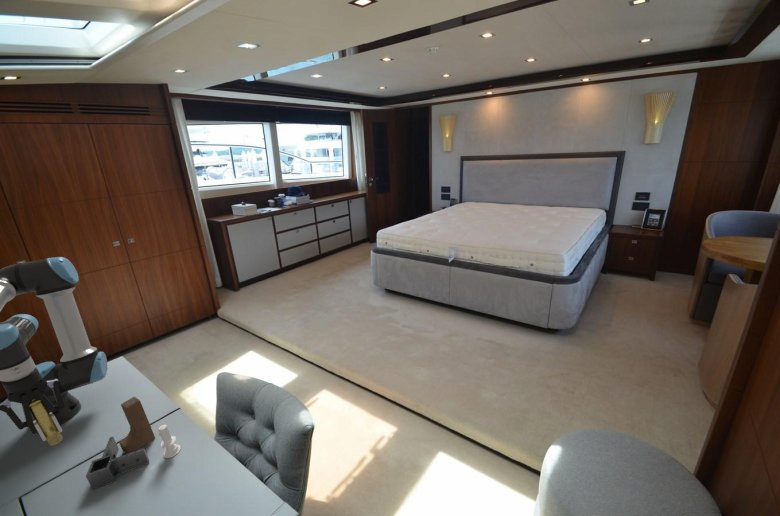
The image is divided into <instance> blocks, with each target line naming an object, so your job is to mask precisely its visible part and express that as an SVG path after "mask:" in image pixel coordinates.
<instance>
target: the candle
mask: <svg viewBox="0 0 780 516" xmlns="http://www.w3.org/2000/svg"><path fill="white" fill-rule="evenodd" d="M158 435H159V437H161V439H162V441H161V442H160V447H161V448H165V449H164V453H163V455H162V456H163V457H164V458H165V459H170V458H173V457H175V456H177V454H179V452H180V451H181V448H182V447H181V445H180V444H176V443H175V442H176V440H177V436H175V435H172V434H171V432H170V429H169V428H168V425H167V424H165V423H164V424H162V425H160V426H159V428H158Z"/></svg>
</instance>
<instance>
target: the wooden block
mask: <svg viewBox="0 0 780 516" xmlns="http://www.w3.org/2000/svg"><path fill="white" fill-rule="evenodd" d="M120 406H121V408H122V411H123V413H124V416H125V418H126V420H127V423H128V424H129V432H128V434H127V435H126V436H125V437H124V438H123V439H121V440H120V441H119V446H120V448H121V450H122V453H124V455H126V454H128V453H131V452H134V451H137V450H140V449H143V448H144V447H145V446H146V445H148V444H149V443H151V442H152V441H153V440H155V439H156V436H155V434H154V431H153V428H152V426H151V423H150V421H149V419H148V416H147V414H146V412H145V409H144V406H143V404H142V402H141V400H140V399H138V398H137V396H132V397H131V398H129V399H127V400H125V401H124V402H122V403H121V404H120Z"/></svg>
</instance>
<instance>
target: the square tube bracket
mask: <svg viewBox="0 0 780 516" xmlns="http://www.w3.org/2000/svg"><path fill="white" fill-rule="evenodd" d="M119 450H120V448H119V446H118V444H117V441H116V440H115V437H114V436H110V437H109V438H108V440H107V444H106V446H105V448H104V450H103V453H102V456H101V457H99V458H96V459H94V460H92V461H91V463H90V465H89V468H88V470H87V473H86V475H85V478H86V480H87V481H88V483H89V485H90V487H91V490H95V489H98V488H101V487H104V486H106V485H108V484H111V483H114V482H116V481H117V477H118V475H121V474H123V472H124V473H125V472H128V470H129V471H131V469H132V470H134V469H137V468H139V466H140V467H142V465H143V466H146V465H148V464H150V462H149V461H150V458H149V456H148V454H147V452H146V449H145V447H142V448H140V449H139V450H137V451H134V452H131V453H128V454H124V455H120V456H118V457H117V455H118V453H119Z"/></svg>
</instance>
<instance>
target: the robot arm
mask: <svg viewBox="0 0 780 516" xmlns="http://www.w3.org/2000/svg"><path fill="white" fill-rule="evenodd" d="M79 281H80V277H79V274H78V271H77V269H76V268H75V266H74V264H73V263H72V262H71V261H70V260H69V259H68V258H66V257H63V256H56V257H55V256H54V257H47V258H44V259H43V258H42V259H38V260H32V261H27V262H21V263H15V264H10V265H8V266H5V267H2V268H1V269H0V312H2V310H3V308H4V307H5V305H6V304H7V303H8V302H10V301H12V300H13V299H14V298H15V297H16V296H19V295H23V294H28V293H34V295H35V297H36V298H39V299H42V300H43V303H44V306H45V308H46V311H47V313H48V316H49V319H50V321H51V325H52V327H53V329H54V332H55V336H56V338H57V341H58V343H59V346H60V348H61V351H62V354H63V355H62V356H61V358H60V360H59V362H60V363H57V364H56V363H55V362H53V361H45V362H41V363H39V364H35V363H36V362H34V360H33V358H32V356H31V354H30V352H29V351H28V348H27V346H26V344H27V343H28V342H29V341H30V340H31V339H32V337H33V336H34V335H35V334H36V332H37V330H38V329H39V321H38V320H37V318H36V317H34V316H32V315H30V314H28V313H26V314H25V313H19V314H15V315H12V316H11V317H10V318H8V319H6V320H4V321H1V322H0V382H1V385H2V386H3V388H4V390H5V392H6V399H5V400H4V401H2V402H0V411H2V412H3V413H6V415H7V416H8V418H9V419H11V421H12V422H13V423H14V425H15V426H16V427H17V429H18V430H23V429H25V428H28V429H29V430H30V432H31V433H32V435H36V434H39V436H40V438H41V440H42V441H43V442H46V441H47V439H46V437H45V436H44V434H43V432H42V430H41V429H40V427H39V425H38V423H37V422H36V420H35V418H34V417H33V415H32V413H31V411H30V407H29V402H31V401H32V400H35V399H38V398H39V399H40V400H42V402H43V403H44V404H45V406H46V408H47V410H48V412H49V413H50V415H51V418H52V419H53V421H54V423H55V425H56V427H57V429H58V430H59V432H60V433H62V432H63V429H62V427H61V424H64V423H65V422H68V421H69V420H70V419H71V418H73V417H74V416H76V415H77V414H78V412H79V411H80V410H81V409H82V404H81V402H80V400H79V399H77V397H75V396H74V395H73V394H72V393H70V392H69V391H72V390H75V389H78V388H81V387H84V386H87V385H92V384H95V383H97V382H99V381H102V380H103V379H104V378H106V376H107V374H108V359H107V355H106V354H105V352H104V351H98V347H95V346H92V345H91V342H90V339H89V337H88V334H87V330H86V327H85V326H84V321H83V319H82V316H81V314H80V310H79V308H78V305H77V302H76V300H75V296H74V294H73V292H74V290H75V289H76V284H77V283H78V282H79ZM11 402H12V403H16V404H17V403H18V404H21V406H22V411H23V414H24V420H25V421H22V420H21V418H19V416H18V415H17V414H16V412H15V411H14V410H13V408H12V404H11Z"/></svg>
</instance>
